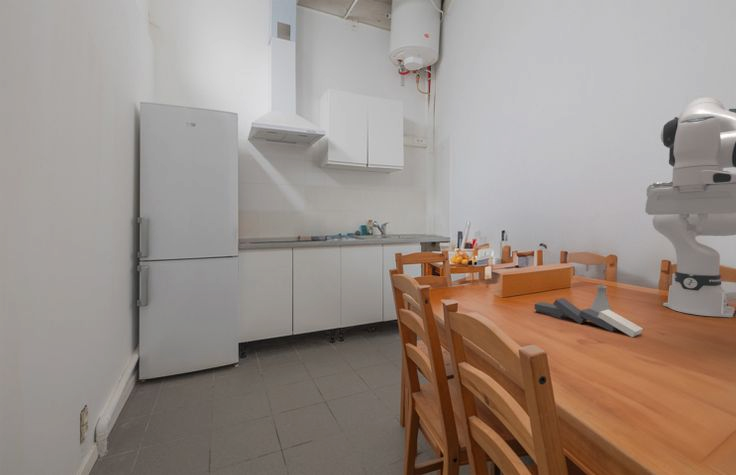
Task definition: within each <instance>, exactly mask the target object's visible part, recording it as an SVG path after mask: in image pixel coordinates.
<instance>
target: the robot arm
mask: <svg viewBox="0 0 736 475" xmlns="http://www.w3.org/2000/svg"><path fill="white" fill-rule="evenodd" d="M660 139H661V142H662V143H663V145H664V147H666V148H667V149H669V154H668V157H669V158H668V164H669V165H670V166H671V167H672V179H671V180H672V181H664V182H654V183H652V184H650V185H649V186H648V187H647V189H646V198H647V199H646V203H645V209H644V210H645V213H647V215H652V216H653V218H652V225H653V228H654V229H655V230H656V231H657V233H660V234H661V235H662V236H664V237H666V238H667V240H668V241H669V242H671V244H672V246H673V248H674V250H675V255H676V256H675V257H676V271H675V272H674V283H673V284H671V285H669V289H668V298H667V302H662V303H663V304H662V306H664V307H667V308H669V309H670V310H672V311H677V312H680V313H684V314H690V315H696V316H706V317H721V318H734V315H733V314H735V312H736V308H735V307H734V306H729V303H728V302H727V300H728V299H727V296H728V295H727V293H726V292H725V290H724V289H723V287H722V286H721V285H722V279H723V276H722V274H720V266H721V265H720V262H721V261H720V260H721V255H720V253H719V252H718V251H717V250H716V249H715V248H713V247H710V246H708V245H706V244H702V243H700V242H698V241H697V239H696V237H699V236H702V237H703V236H705V237H706V236H710V237H711V236H712V237H728V236H736V173H735V172H730V171H728V170H727V171H724V169H728V168H730V169H731V168H736V108H729V109H726V108H725V106H724V104H723V103H722V102H721V101H720V100H718V99H717V98H716V97H713V96H704V97H698V98H696V99H693V100H692V101H691V102H689V103H687V105H686V106H684V108H683V110H682V111H681V113H680V114H679V117H678V116H675V117H674V118H673V119H671V120H668V121H667V122H666V123H665V124H664V125H663V128H662V129H661V132H660ZM734 311H735V312H734Z"/></svg>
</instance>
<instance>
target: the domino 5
mask: <svg viewBox="0 0 736 475" xmlns="http://www.w3.org/2000/svg"><path fill="white" fill-rule="evenodd" d="M611 310H612V309H611ZM611 310H609V309H608V310H604V311H601V312H600V313H599V315H598V317H599V318H600V319H602V320H604V321H605V322H607V323H609V324H611V325H612V326H614V327H616V328H617V329H619V331H620V332H623V333H624V334H626V335H627V336H629V337H631V338H634V337H636V336H639V335H641V333H642V332H643V330H644V328H643V327H641V326H639V325H637V323H636V324H635V323H634V322H632V321H630V320H628V319H627V318H625V317H623V316H621V315H620V314H617V313H616V312H614V311H611Z"/></svg>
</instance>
